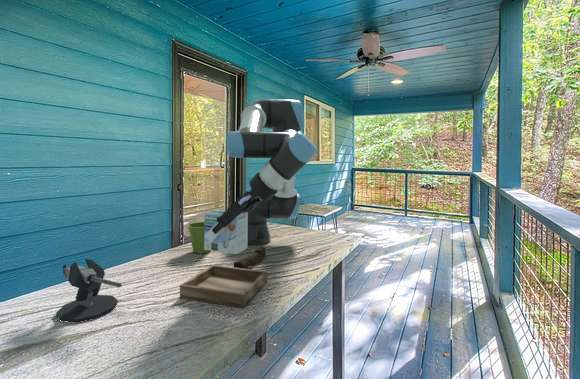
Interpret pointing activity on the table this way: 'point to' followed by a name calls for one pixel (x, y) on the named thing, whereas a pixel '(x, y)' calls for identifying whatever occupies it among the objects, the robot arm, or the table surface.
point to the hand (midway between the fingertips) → (215, 235)
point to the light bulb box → (227, 233)
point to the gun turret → (87, 293)
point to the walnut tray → (224, 286)
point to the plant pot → (197, 236)
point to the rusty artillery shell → (251, 259)
